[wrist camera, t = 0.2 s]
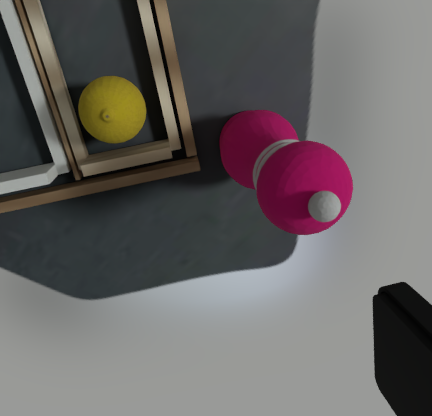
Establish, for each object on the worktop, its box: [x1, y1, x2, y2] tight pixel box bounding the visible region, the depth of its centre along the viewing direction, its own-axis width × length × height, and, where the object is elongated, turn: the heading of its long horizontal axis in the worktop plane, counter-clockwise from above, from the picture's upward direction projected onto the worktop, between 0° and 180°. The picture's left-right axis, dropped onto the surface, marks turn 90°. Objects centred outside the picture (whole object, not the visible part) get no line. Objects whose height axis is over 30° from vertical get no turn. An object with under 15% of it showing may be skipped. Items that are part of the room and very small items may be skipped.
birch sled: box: [23, 0, 181, 177], centre depth 29 cm, size 21×10×9 cm, turn 10°
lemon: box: [78, 76, 146, 143], centre depth 32 cm, size 6×6×8 cm
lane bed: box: [0, 0, 200, 213], centre depth 33 cm, size 20×24×2 cm
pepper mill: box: [219, 110, 353, 235], centre depth 29 cm, size 7×7×20 cm
